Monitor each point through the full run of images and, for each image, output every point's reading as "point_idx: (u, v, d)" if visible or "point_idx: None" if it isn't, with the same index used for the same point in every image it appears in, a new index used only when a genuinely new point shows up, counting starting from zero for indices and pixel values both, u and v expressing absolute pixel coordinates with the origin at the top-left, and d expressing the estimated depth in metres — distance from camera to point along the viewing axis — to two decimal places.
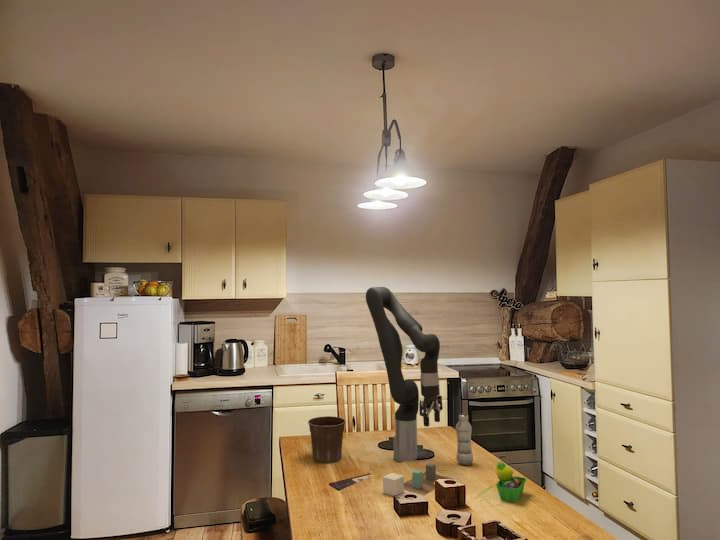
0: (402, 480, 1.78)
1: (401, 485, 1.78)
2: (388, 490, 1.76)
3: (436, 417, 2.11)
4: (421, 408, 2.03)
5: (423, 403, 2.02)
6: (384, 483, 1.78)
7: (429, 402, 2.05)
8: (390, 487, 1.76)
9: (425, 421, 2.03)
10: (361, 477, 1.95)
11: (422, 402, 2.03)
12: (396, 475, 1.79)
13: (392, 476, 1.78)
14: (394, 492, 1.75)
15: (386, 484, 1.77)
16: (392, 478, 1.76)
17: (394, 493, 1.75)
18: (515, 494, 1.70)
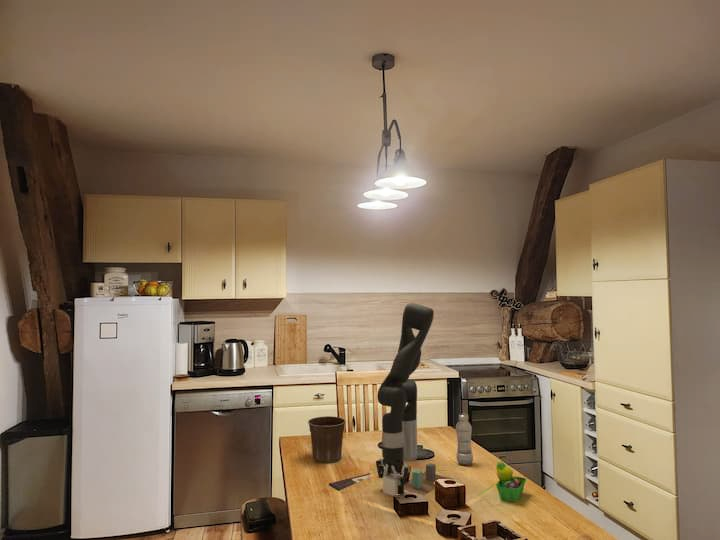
0: None
1: None
2: (388, 490, 1.76)
3: None
4: (407, 476, 1.74)
5: (410, 469, 1.75)
6: (384, 483, 1.78)
7: None
8: (390, 487, 1.76)
9: (403, 489, 1.76)
10: (361, 477, 1.95)
11: (409, 469, 1.74)
12: None
13: (392, 476, 1.78)
14: (394, 492, 1.75)
15: (386, 484, 1.77)
16: (392, 478, 1.76)
17: (394, 493, 1.75)
18: (515, 494, 1.70)
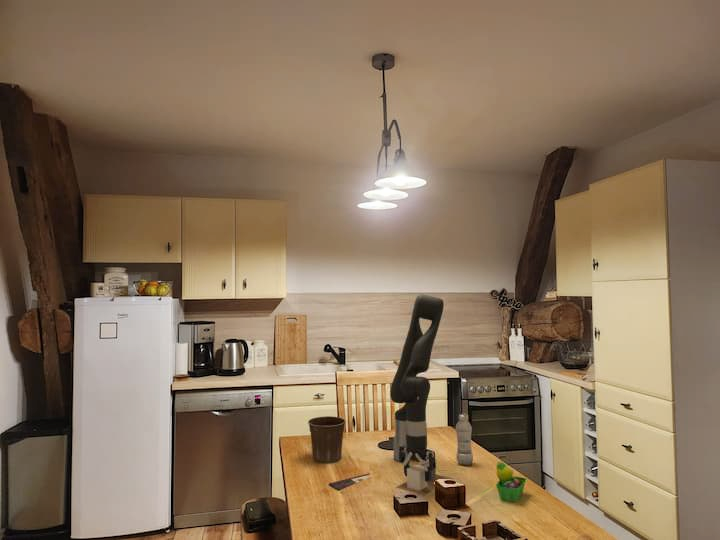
0: None
1: None
2: (412, 481, 1.81)
3: None
4: (433, 461, 1.78)
5: (434, 454, 1.79)
6: (408, 475, 1.82)
7: None
8: (414, 478, 1.80)
9: (430, 475, 1.80)
10: (360, 477, 1.95)
11: (433, 453, 1.79)
12: (419, 467, 1.84)
13: (416, 468, 1.82)
14: (418, 483, 1.79)
15: (410, 476, 1.81)
16: (416, 470, 1.81)
17: (418, 484, 1.79)
18: (515, 494, 1.70)
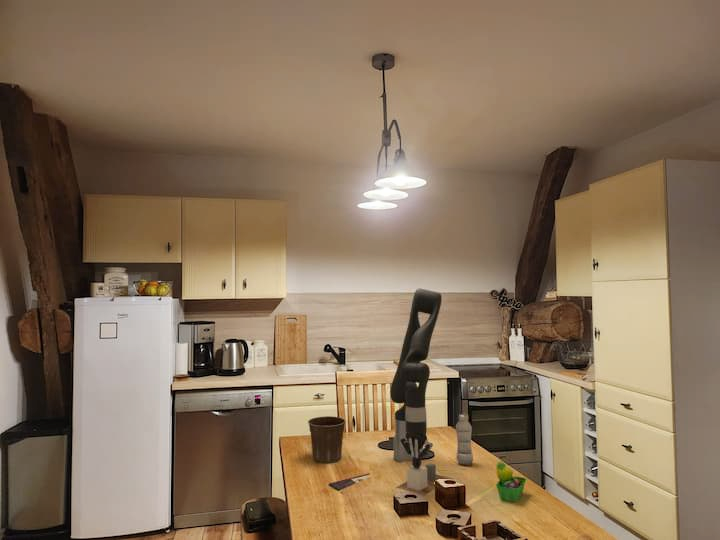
0: (426, 472, 1.83)
1: (425, 477, 1.82)
2: (412, 481, 1.81)
3: None
4: (426, 451, 1.80)
5: (431, 447, 1.80)
6: (408, 475, 1.82)
7: None
8: (414, 478, 1.80)
9: (420, 462, 1.82)
10: (360, 477, 1.95)
11: (431, 446, 1.80)
12: None
13: (416, 468, 1.82)
14: (418, 483, 1.79)
15: (410, 476, 1.81)
16: (416, 470, 1.81)
17: (418, 484, 1.79)
18: (515, 494, 1.70)
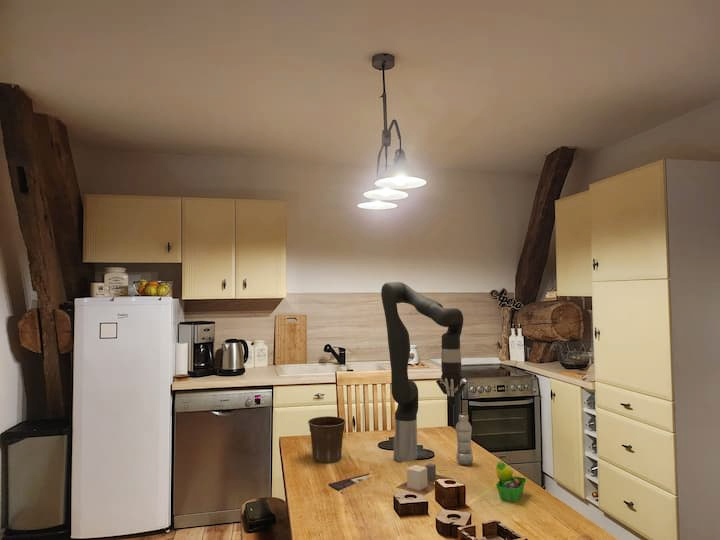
0: (426, 472, 1.83)
1: (425, 477, 1.82)
2: (412, 481, 1.81)
3: None
4: (462, 390, 1.93)
5: (466, 385, 1.93)
6: (408, 475, 1.82)
7: None
8: (414, 478, 1.80)
9: (455, 400, 1.95)
10: (360, 477, 1.95)
11: (466, 385, 1.92)
12: (419, 467, 1.84)
13: (416, 468, 1.82)
14: (418, 483, 1.79)
15: (410, 476, 1.81)
16: (416, 470, 1.81)
17: (418, 484, 1.79)
18: (515, 494, 1.70)
